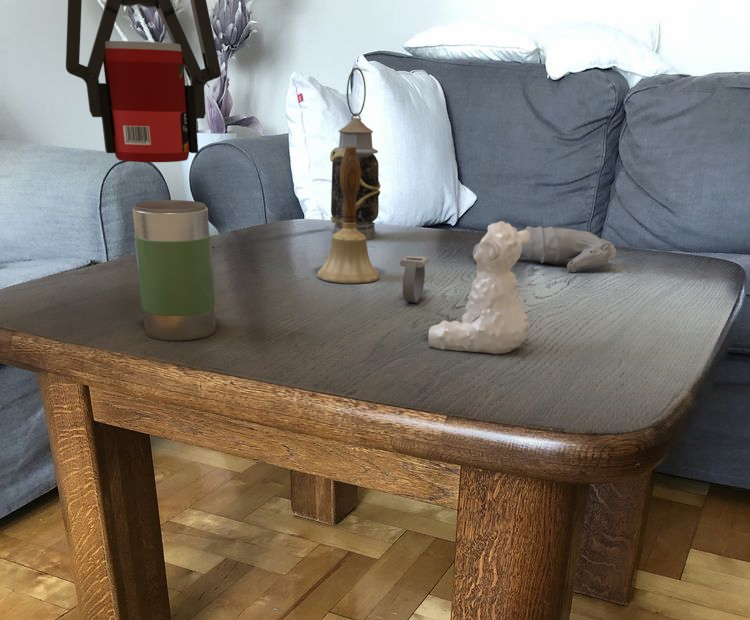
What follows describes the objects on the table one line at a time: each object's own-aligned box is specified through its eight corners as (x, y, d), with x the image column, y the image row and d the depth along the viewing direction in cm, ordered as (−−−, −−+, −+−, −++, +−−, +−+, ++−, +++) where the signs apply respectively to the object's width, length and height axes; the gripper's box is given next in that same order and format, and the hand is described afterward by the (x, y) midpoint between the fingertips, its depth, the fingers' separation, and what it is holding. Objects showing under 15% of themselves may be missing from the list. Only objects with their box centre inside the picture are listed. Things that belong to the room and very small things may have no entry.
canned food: (201, 161, 88) (194, 44, 82) (128, 163, 83) (116, 40, 78) (174, 155, 93) (165, 45, 88) (104, 157, 89) (91, 41, 84)
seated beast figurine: (475, 328, 87) (485, 210, 82) (547, 344, 83) (562, 220, 77) (422, 346, 81) (429, 219, 75) (497, 365, 76) (510, 231, 71)
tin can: (129, 331, 83) (115, 204, 77) (184, 318, 88) (174, 197, 82) (176, 345, 79) (164, 212, 73) (231, 330, 84) (224, 205, 79)
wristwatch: (407, 294, 100) (409, 252, 98) (429, 296, 100) (431, 254, 98) (395, 306, 95) (396, 262, 93) (418, 308, 94) (420, 264, 92)
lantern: (344, 230, 141) (345, 67, 130) (387, 235, 139) (392, 68, 127) (321, 238, 134) (321, 66, 123) (366, 243, 131) (370, 67, 120)
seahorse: (479, 264, 113) (624, 245, 112) (467, 222, 120) (603, 204, 120) (479, 296, 116) (620, 278, 116) (468, 253, 124) (600, 236, 124)
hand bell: (391, 276, 109) (396, 147, 102) (354, 287, 103) (355, 150, 96) (343, 268, 114) (343, 143, 106) (304, 277, 108) (302, 145, 100)
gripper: (8, -128, 71) (49, 155, 82) (245, -104, 78) (255, 155, 88) (11, -112, 77) (48, 149, 88) (230, -91, 84) (241, 149, 94)
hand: (152, 151), depth 88 cm, fingers closed on canned food, 8 cm apart
